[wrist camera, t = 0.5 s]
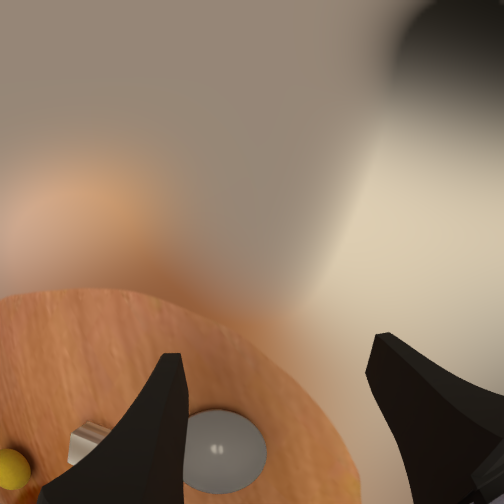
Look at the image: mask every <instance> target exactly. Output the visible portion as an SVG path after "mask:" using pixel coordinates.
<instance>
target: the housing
mask: <svg viewBox="0 0 504 504" xmlns="http://www.w3.org/2000/svg"><path fill="white" fill-rule="evenodd" d="M110 432H111V430H110V429H108V428H105V427H102V426H100V425H97V424H95V423H92V422H90V421H88V422H86V423H85V424H83V425H82V426H81V427H79V428H78V429H76V430H75V431H73V432H72V433H71V438H70V446H69V454H68V463H70V464H72V465H75V464H76V463H78V462H79V461H80V460H81V459H83V458H84V457H85V456H86V455H87V454H89V453H90V452H91V451H92V450H93V449H94V448H95V447H96V446H97V445H98V444H99V443H100V442H101V441H102V440H103V439H104V438H105V437H106V436H107V435H108V434H109V433H110Z"/></svg>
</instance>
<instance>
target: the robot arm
mask: <svg viewBox="0 0 504 504" xmlns="http://www.w3.org/2000/svg"><path fill="white" fill-rule="evenodd" d="M365 374H366V377H367V380H368V383H369V386H370V388H371V391H372V394H373V396H374V398H375V400H376V402H377V404H378V406H379V408H380V410H381V412H382V414H383V416H384V418H385V420H386V422H387V424H388V426H389V428H390V430H391V432H392V433H393V435H394V438H395V440H396V442H397V445H398V447H399V450H400V453H401V456H402V459H403V462H404V466H405V469H406V472H407V476H408V480H409V484H410V488H411V493H412V497H413V502H414V504H504V396H503V395H499V394H496V393H493V392H491V391H488V390H485V389H483V388H480V387H478V386H476V385H473V384H471V383H469V382H467V381H465V380H463V379H461V378H459V377H457V376H455V375H454V374H452V373H450V372H448V371H447V370H445V369H443V368H442V367H440V366H439V365H437V364H435V363H434V362H432V361H431V360H429V359H428V358H426V357H425V356H423V355H422V354H420V353H419V352H417V351H416V350H415V349H413V348H412V347H410V346H409V345H408V344H406V343H405V342H403V341H402V340H400V339H399V338H397V337H396V336H394V335H393V334H391V333H389V332H387V333H382V334H376V335H375V339H374V342H373V346H372V350H371V354H370V358H369V361H368V365H367V368H366V372H365ZM188 417H189V394H188V387H187V382H186V378H185V373H184V368H183V363H182V358H181V353H164V354H163V355H162V356H161V357H160V359H159V361H158V363H157V365H156V367H155V369H154V370H153V372H152V374H151V376H150V377H149V379H148V381H147V382H146V384H145V386H144V387H143V389H142V390H141V392H140V393H139V395H138V397H137V398H136V399H135V401H134V402H133V404H132V405H131V406H130V408H129V409H128V411H127V412H126V413H125V415H124V416H123V417H122V419H121V420H120V421H119V422H118V423H117V425H116V426H115V427H114V428H113V429H112V430H111V432H110V433H109V434H108V435H107V436H106V437H105V438H104V439H103V440H102V441H101V442H100V443H99V444H98V445H97V446H96V447H95V448H94V449H93V450H92V451H91V452H90V453H89V454H87V455H86V456H85V457H84V458H83V459H81V460H80V461H79V462H78V463H76V464H75V465H74V466H73V467H71V468H70V469H69V470H67V471H66V472H65V473H63V474H62V475H60V476H59V477H57V478H55V479H54V480H52V481H51V482H49V483H48V484H46V485H44V486H43V487H42V489H41V491H40V494H39V496H38V500H37V504H184V494H183V465H184V455H185V445H186V436H187V427H188Z"/></svg>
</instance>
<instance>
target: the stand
mask: <svg viewBox="0 0 504 504" xmlns="http://www.w3.org/2000/svg"><path fill="white" fill-rule="evenodd" d="M266 456H267V450H266V444H265V441H264V439H263V436H262V435H261V433H260V432H259V430H258V429H257V427H256V426H255V425H254V424H253V423H252V422H251V421H250V420H248V419H247V418H246V417H244V416H242V415H240V414H238V413H236V412H233V411H229V410H223V409H210V410H204V411H201V412H198V413H195V414H193V415H191V416H190V417H188V427H187V436H186V445H185V455H184V465H183V481H184V482H185V483H186V484H188V485H189V486H191V487H193V488H195V489H197V490H199V491H202V492H206V493H212V494H226V493H232V492H235V491H238V490H241V489H243V488H245V487H246V486H248V485H250V484H251V483H252V482H253V481H254V480H255V479H256V478H257V477H258V476H259V475H260V473H261V472H262V470H263V468H264V465H265V462H266Z"/></svg>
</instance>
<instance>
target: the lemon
mask: <svg viewBox="0 0 504 504" xmlns="http://www.w3.org/2000/svg"><path fill="white" fill-rule="evenodd" d="M30 476H31V470H30V466H29V463H28V462H27V460H26V459H25V457H24V456H23V455H22V454H20V453H19V452H17V451H15V450H12V449H1V450H0V486H1V487H3V488H5V489H8V490H15V489H19V488H22V487H23V486H25V485H26V484H27V483H28V481H29V479H30Z"/></svg>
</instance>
